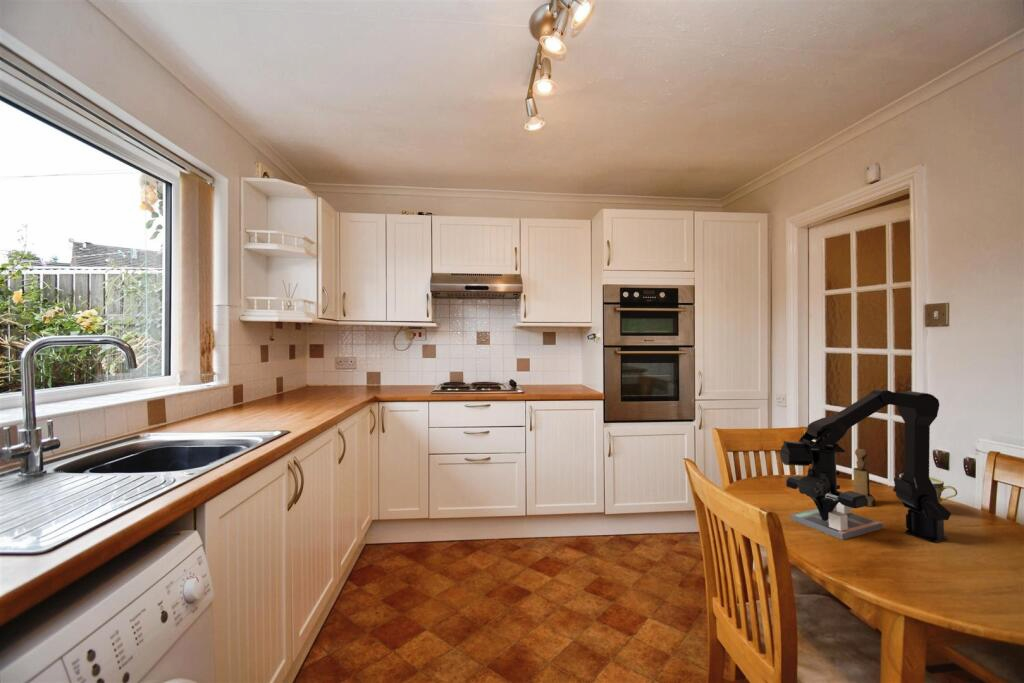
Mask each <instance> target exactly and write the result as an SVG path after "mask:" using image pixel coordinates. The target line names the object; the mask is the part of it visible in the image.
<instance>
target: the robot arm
mask: <svg viewBox="0 0 1024 683" xmlns="http://www.w3.org/2000/svg"><path fill="white" fill-rule="evenodd" d="M889 405H891V406H892V405H893V406H897V409H898V413H899V415H900V416H901V418H902V420H903V421H904V465H903V466H904V471H903V473H902V474H903V475H902V477H901V478H900V477H894V478H893V484H894V488H893V489H892V491H893V492H894V493H895V496H896V498H897V499H898V500H900V501H901V503H902V505H903V507H904V508H907V513H906V514H905V528H906V529H905V530H904V533H905V534H908V535H912V536H915V537H918V538H919V539H920V538H921V539H923V540H926V541H929V542H932V543H939V542H941V541H944V540H948V538H949V537H948V536H947V535H945V524H944V522H945V521H949V520H950V517H951V514H952V512H950V511H949V510H948V509H947V508H946V507H945V506H944V505H942V504H941V502H940V503H939V502H938V497H937V492H936V489H935V487H934V485H933V484H932V482H931V480H930V478H929V476H930V449H931V448H930V445H931V444H930V440H931V439H930V438H931V437H930V434H931V433H930V429H931V425H932V423H933V422H935V420H936V418H937V417H938V415H939V414H938V413H939V410H940V400H939V399H938V398H937V397H936V396H935V395H934V394H931V393H926V392H919V391H914V390H913V391H911V390H907V391H902V392H901V393H900V392H896V391H895V392H893V391H890V390H888V389H881V388H876V389H873V390H871V391H870V393H868V394H866V395H865V396H863V397H862V398H860V399H858V400H857V401H856V402H855V401H854V402H853V403H852V404H850V405H848V406H847V407H845V408H843V409H841V410H840V411H839V412H837V413H835V414H833V415H831V416H825V417H823V418H819V419H817V420H814V421H811V422H810V423H809V424H808V425H807V430H805V433H803V434H802V436H801V437H800V438H799V439H798V441H790V440H789V441H788V440H784V441H783V442H782V443H783V445H781V448H780V450H779V456H780V457H779V458H780V460H781V462H782V464H783V465H785V466H798V467H799V466H801V467H807V466H811V467H810V468H808V470H807V474H806V475H804V476H801V475H792V476H789V477H787V478H786V479H785V485H786V487H787V488H790V489H794V490H798V491H799V493H800V494H801V495H805V496H807V497H809V498H810V499H812V501H813V503H814V504H815V505H816V509H817V508H818V511H819V513H820V515H821V518H822V520H824V521H827V520H828V518H829V512H832V511H833V510H834V508H835V507H836V505H837V504H838V503H839V502H840V503H841V504H842V505H845V506H848V507H851V509H860V508H865V507H869V506H868V499H867V498H866V496H865V495H863V494H860V493H856V492H853V491H854V490H853V491H852V490H848V491H847V490H846V491H844V492H842V491H838V490H841V485H840V484H838V481H837V480H838V479H837V476H839V475H840V470H837V453H846V450H845V449H843V447H841V446H840V445H839V443H838V442H839V441H841V439H843V438H844V437H845V436H846V434H847V433H848V430H850V429H851V428H852V427H853V426H855V425H856V424H858V423H860V422H862V421H864V420H865V419H867V418H868V417H870V416H871V415H873V414H875V413H877V412H878V411H880V410H881V409H884V408H886V406H889Z"/></svg>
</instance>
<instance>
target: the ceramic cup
mask: <svg viewBox="0 0 1024 683" xmlns="http://www.w3.org/2000/svg"><path fill="white" fill-rule="evenodd" d="M903 474H904V473H900V474H899V475H898V476H899V477H898V478H901V477H902V475H903ZM929 478H930V480H931V482H932V484H933V485H934V487H935V489H936V492H937V497H938V502H939V503H940V504H941V502H943V501H946V500H948V499H949V498H954V497H956V496H957V495H958V490H957V489H956V488H955V487H954V486H951V485H945V486H944V484H945V483H944V480H942V479H939V478H937V477H934V476H930V475H929ZM946 489H951V490H954V492H955V493H954V494H952V495H948V496H946V497H945V498H942V497H941V496H942V493H943V492H944V491H945V490H946Z"/></svg>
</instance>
